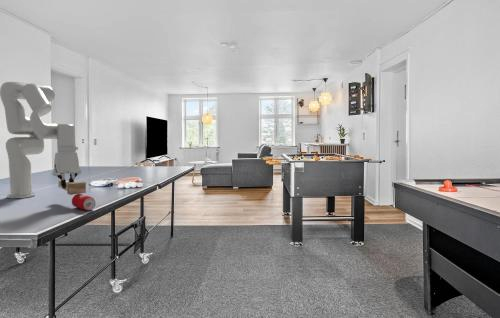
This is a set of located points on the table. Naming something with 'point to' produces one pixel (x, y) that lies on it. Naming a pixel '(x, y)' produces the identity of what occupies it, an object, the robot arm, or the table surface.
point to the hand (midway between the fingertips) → (67, 187)
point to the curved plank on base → (74, 187)
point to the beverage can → (83, 202)
